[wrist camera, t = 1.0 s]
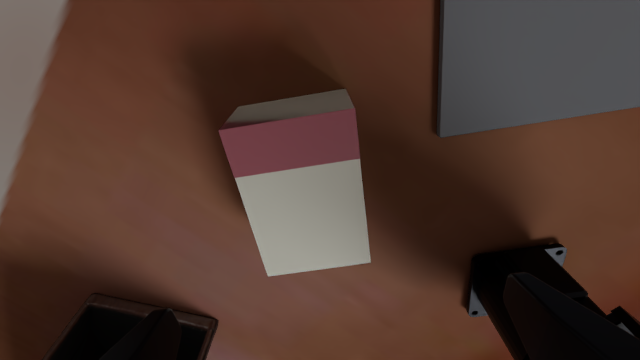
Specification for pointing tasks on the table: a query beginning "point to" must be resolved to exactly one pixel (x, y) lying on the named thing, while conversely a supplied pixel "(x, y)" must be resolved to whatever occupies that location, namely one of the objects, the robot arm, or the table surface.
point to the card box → (300, 180)
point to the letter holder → (124, 330)
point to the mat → (535, 61)
